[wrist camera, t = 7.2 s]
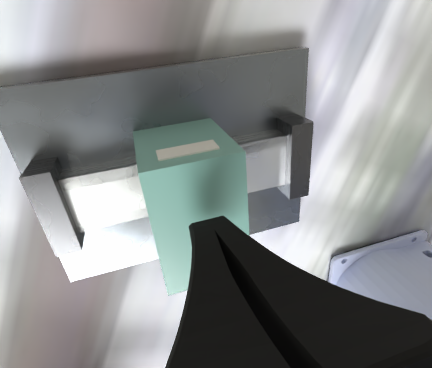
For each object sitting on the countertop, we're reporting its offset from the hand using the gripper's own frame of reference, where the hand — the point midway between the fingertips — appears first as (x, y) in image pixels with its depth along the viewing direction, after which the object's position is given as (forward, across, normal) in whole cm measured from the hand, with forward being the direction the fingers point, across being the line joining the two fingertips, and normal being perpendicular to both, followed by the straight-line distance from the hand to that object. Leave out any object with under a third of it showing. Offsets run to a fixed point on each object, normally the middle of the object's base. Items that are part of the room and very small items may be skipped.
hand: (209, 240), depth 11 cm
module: (+6, 0, 0) cm, 6 cm away
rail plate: (+7, 0, 0) cm, 7 cm away
